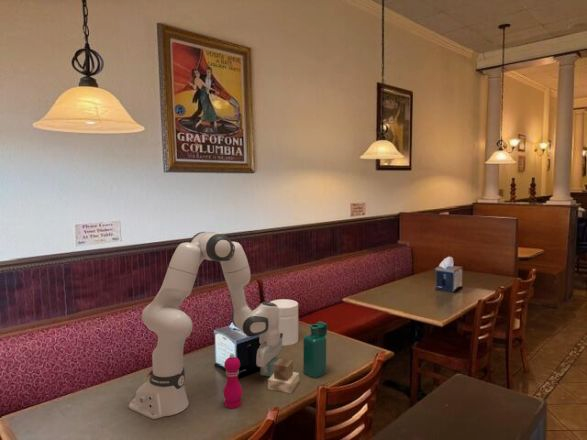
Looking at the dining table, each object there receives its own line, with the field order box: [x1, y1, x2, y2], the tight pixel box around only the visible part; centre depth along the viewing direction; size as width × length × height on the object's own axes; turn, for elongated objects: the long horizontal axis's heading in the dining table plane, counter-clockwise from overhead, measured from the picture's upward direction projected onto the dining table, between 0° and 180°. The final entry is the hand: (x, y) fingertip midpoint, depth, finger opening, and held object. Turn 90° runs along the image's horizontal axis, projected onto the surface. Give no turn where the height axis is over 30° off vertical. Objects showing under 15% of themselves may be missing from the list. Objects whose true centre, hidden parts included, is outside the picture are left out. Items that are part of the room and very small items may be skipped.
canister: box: [270, 298, 299, 347], centre depth 222 cm, size 16×16×20 cm
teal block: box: [260, 357, 279, 378], centre depth 184 cm, size 6×6×6 cm
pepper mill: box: [222, 353, 243, 409], centre depth 159 cm, size 7×7×20 cm
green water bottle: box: [302, 320, 328, 379], centre depth 184 cm, size 10×8×22 cm
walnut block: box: [274, 358, 294, 381], centre depth 173 cm, size 6×6×6 cm
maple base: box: [267, 371, 300, 394], centre depth 173 cm, size 10×10×4 cm
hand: (269, 368), depth 184 cm, fingers closed on teal block, 6 cm apart
